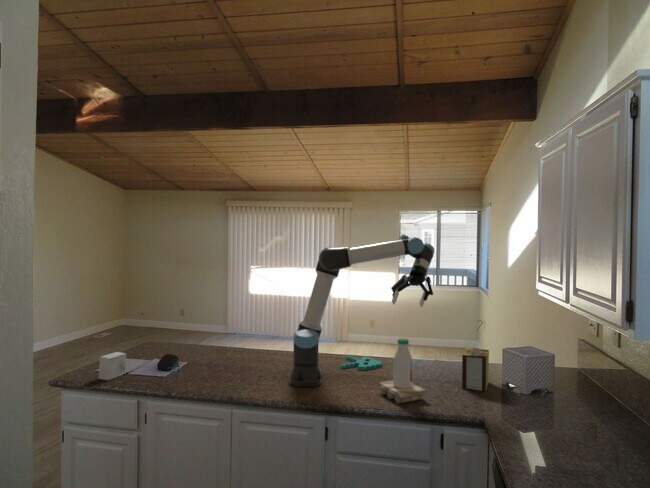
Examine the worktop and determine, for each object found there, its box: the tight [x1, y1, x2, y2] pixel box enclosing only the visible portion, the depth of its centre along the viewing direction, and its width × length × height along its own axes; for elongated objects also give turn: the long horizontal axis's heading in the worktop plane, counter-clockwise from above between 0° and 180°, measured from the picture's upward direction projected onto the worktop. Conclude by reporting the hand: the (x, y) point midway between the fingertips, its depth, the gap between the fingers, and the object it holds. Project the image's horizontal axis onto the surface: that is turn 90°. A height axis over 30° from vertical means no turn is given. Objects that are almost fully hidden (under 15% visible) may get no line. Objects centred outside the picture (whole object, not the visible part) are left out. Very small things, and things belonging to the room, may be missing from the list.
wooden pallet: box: [378, 380, 427, 405], centre depth 182 cm, size 16×13×4 cm
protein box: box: [461, 347, 490, 393], centre depth 199 cm, size 10×15×16 cm
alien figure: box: [340, 355, 382, 371], centre depth 231 cm, size 20×2×20 cm
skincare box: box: [98, 351, 127, 381], centre depth 204 cm, size 10×6×10 cm, turn 161°
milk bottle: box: [392, 338, 413, 389], centre depth 182 cm, size 8×8×20 cm
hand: (406, 304), depth 196 cm, fingers open, 13 cm apart
